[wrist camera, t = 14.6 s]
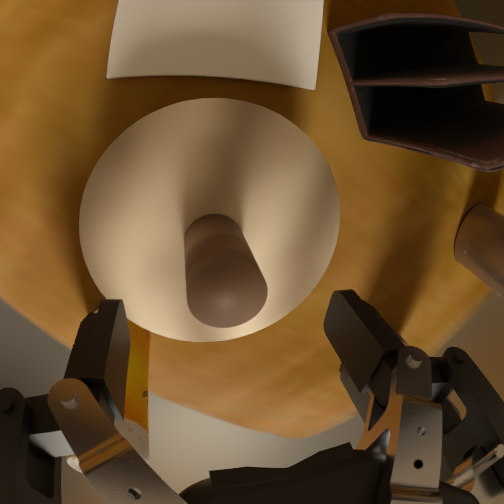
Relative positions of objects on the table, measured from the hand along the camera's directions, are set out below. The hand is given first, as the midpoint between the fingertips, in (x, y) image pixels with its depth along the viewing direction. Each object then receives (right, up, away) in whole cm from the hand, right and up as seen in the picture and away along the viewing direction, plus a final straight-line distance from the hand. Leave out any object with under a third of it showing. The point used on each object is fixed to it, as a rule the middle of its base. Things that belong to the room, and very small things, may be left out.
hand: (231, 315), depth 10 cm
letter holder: (+17, +20, +9) cm, 28 cm away
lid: (-1, +3, +6) cm, 7 cm away
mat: (-1, +21, +3) cm, 21 cm away
